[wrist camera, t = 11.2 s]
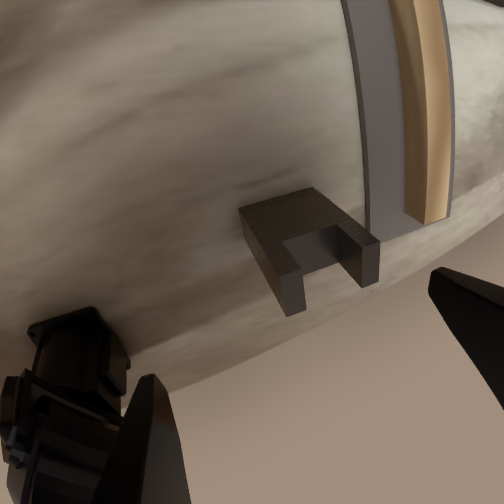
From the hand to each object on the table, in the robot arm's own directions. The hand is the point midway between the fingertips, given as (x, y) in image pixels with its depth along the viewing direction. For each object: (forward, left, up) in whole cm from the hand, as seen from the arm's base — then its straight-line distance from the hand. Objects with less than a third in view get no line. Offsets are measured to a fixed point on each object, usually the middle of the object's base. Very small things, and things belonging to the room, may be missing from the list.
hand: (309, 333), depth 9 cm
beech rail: (+14, +7, -11) cm, 19 cm away
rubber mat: (+14, +7, -12) cm, 20 cm away
